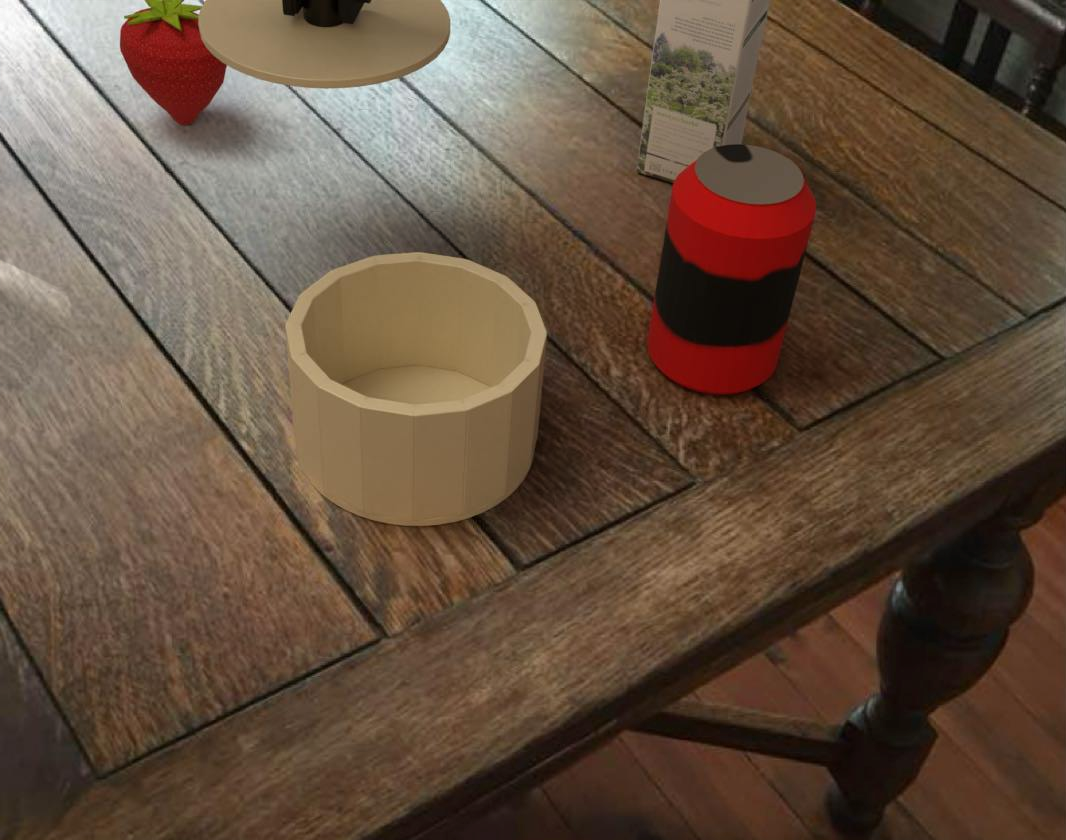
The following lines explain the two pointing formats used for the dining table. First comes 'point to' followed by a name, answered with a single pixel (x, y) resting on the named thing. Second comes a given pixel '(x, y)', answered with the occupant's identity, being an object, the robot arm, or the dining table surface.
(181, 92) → the strawberry
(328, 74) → the lid
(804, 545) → the dining table surface
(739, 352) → the soda can
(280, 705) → the dining table surface
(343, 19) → the robot arm
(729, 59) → the syrup box
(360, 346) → the pot
